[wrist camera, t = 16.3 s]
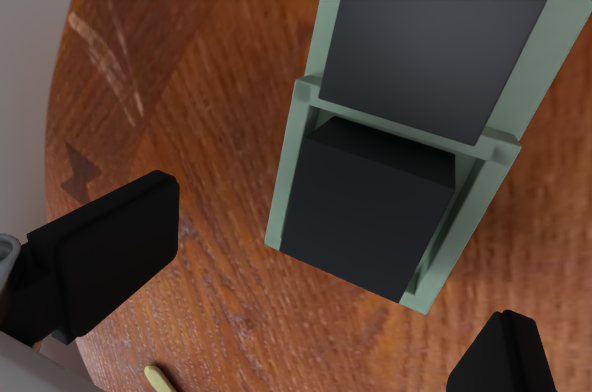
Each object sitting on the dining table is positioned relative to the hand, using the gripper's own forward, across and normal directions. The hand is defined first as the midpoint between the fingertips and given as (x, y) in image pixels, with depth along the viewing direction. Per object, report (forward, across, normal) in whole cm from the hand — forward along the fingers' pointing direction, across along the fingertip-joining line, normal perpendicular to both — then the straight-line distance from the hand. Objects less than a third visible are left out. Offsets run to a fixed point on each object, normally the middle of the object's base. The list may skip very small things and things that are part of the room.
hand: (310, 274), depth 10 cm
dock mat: (+8, -1, -2) cm, 8 cm away
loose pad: (+6, -1, 0) cm, 7 cm away
